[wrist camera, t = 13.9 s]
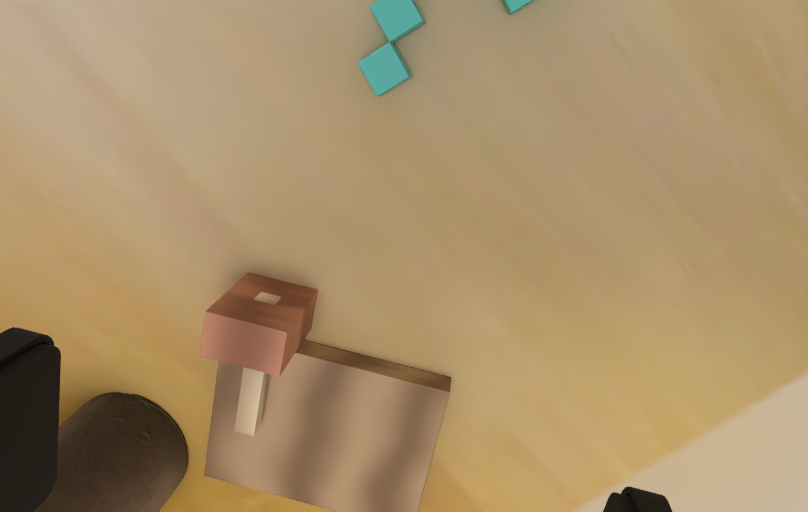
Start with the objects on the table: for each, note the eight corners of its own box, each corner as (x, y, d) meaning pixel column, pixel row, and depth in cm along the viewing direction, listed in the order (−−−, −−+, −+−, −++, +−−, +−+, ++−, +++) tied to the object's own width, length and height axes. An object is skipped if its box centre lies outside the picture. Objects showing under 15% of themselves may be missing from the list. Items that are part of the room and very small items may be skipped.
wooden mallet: (318, 290, 42) (287, 332, 36) (295, 411, 45) (263, 471, 39) (248, 272, 43) (205, 311, 36) (231, 395, 46) (188, 451, 39)
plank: (450, 377, 43) (449, 392, 41) (414, 512, 47) (411, 531, 45) (233, 322, 44) (222, 334, 42) (215, 459, 48) (203, 475, 46)
